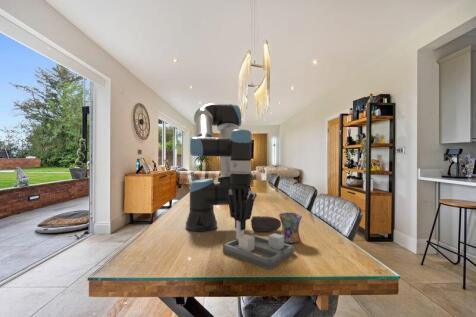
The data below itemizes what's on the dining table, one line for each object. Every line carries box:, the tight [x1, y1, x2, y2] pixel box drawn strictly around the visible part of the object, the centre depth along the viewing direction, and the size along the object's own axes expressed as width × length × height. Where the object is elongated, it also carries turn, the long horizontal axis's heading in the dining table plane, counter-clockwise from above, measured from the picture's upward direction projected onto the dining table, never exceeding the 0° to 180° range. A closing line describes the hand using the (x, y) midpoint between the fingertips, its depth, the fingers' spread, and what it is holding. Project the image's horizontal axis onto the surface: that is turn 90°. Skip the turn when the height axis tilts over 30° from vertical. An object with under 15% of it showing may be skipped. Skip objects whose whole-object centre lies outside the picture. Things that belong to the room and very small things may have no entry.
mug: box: [278, 212, 303, 244], centre depth 98 cm, size 12×9×11 cm
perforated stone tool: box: [250, 215, 282, 233], centre depth 109 cm, size 15×5×7 cm, turn 99°
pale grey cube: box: [267, 233, 285, 250], centre depth 84 cm, size 4×4×4 cm
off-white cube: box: [239, 233, 255, 252], centre depth 82 cm, size 4×4×4 cm
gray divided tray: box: [222, 233, 295, 270], centre depth 84 cm, size 20×16×3 cm
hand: (240, 238), depth 84 cm, fingers closed
